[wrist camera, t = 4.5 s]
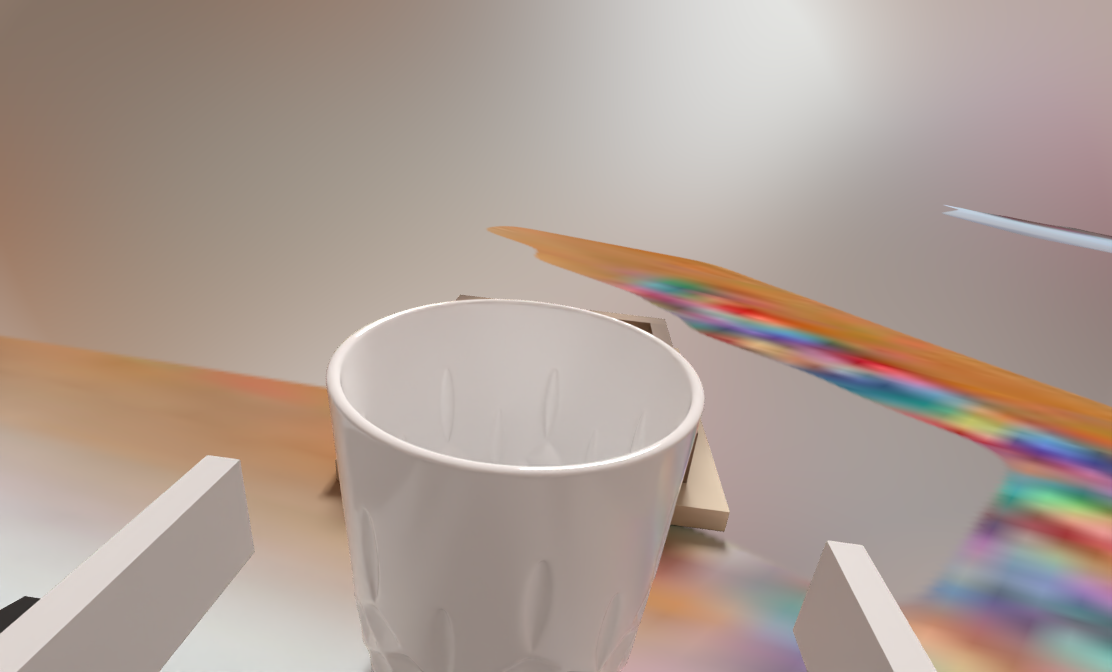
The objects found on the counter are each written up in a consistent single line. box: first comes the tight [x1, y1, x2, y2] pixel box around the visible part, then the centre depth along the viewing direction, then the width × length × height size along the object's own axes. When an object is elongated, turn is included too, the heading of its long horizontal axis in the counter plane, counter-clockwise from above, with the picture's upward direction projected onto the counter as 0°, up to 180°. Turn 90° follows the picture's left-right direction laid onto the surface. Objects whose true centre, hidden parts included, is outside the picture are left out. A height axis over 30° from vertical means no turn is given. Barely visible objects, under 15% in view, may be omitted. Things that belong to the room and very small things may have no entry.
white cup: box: [326, 299, 705, 672], centre depth 14 cm, size 8×8×10 cm
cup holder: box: [336, 295, 730, 532], centre depth 29 cm, size 16×16×4 cm
